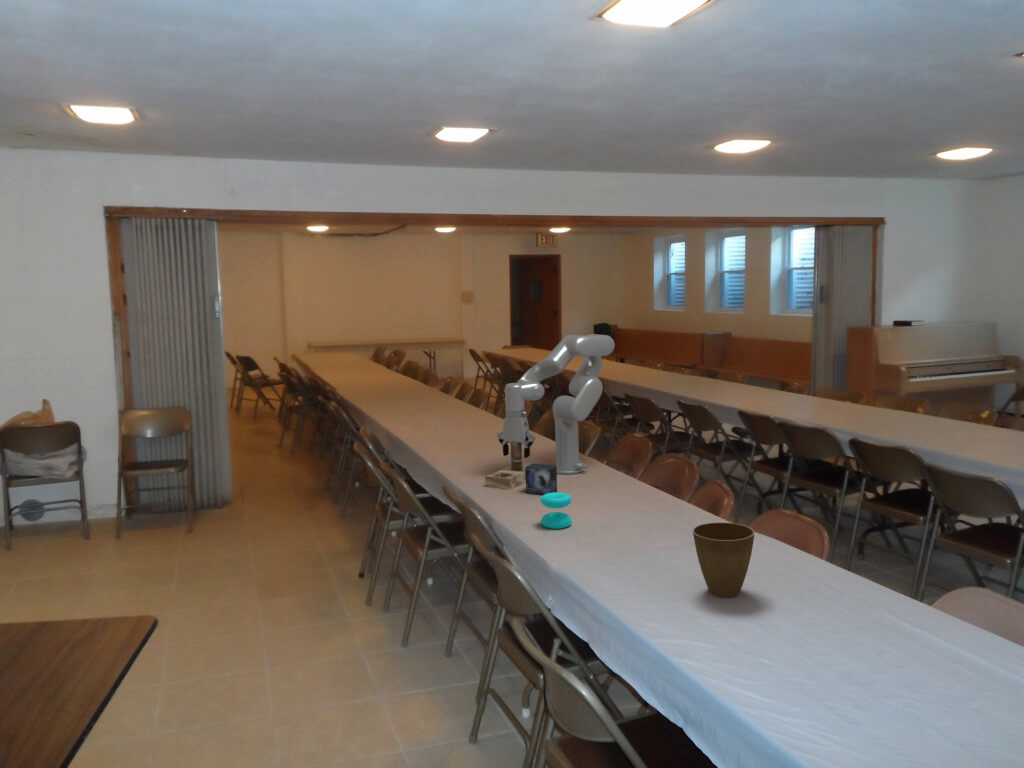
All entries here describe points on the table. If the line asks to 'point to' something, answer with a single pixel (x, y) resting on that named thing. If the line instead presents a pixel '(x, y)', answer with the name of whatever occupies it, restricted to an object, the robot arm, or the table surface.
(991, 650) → the table surface
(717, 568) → the plant pot
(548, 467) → the small box
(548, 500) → the donuts
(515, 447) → the peg
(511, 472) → the board
